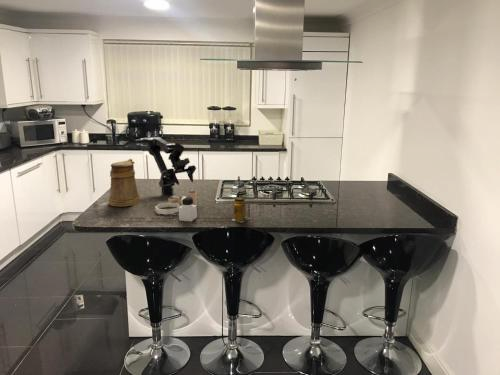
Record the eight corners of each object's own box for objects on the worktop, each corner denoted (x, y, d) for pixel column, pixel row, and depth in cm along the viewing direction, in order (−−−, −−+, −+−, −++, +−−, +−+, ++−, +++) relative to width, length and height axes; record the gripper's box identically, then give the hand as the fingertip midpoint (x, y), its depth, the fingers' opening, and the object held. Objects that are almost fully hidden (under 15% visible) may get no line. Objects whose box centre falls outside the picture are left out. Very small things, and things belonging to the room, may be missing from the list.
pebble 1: (171, 201, 258) (171, 196, 257) (173, 199, 261) (173, 195, 260) (176, 201, 258) (175, 196, 257) (178, 200, 260) (177, 195, 260)
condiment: (230, 220, 228) (230, 198, 224) (241, 216, 234) (241, 195, 231) (241, 223, 223) (240, 201, 220) (251, 218, 229) (251, 197, 226)
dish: (152, 214, 238) (151, 208, 237) (162, 206, 250) (162, 202, 249) (174, 215, 235) (174, 210, 234) (183, 208, 247) (183, 203, 246)
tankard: (103, 207, 250) (99, 165, 243) (120, 196, 272) (117, 157, 266) (133, 208, 248) (129, 166, 241) (147, 197, 270) (145, 158, 264)
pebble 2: (174, 202, 256) (174, 197, 255) (176, 201, 258) (176, 196, 258) (179, 202, 255) (179, 198, 254) (181, 201, 258) (181, 196, 257)
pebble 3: (180, 201, 258) (180, 196, 257) (182, 199, 261) (182, 195, 260) (184, 201, 257) (184, 196, 256) (186, 200, 260) (186, 195, 259)
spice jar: (188, 209, 245) (187, 191, 243) (191, 207, 250) (190, 189, 247) (195, 209, 244) (194, 191, 242) (198, 207, 249) (197, 189, 246)
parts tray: (167, 203, 256) (167, 199, 255) (173, 200, 263) (173, 195, 263) (183, 204, 254) (183, 200, 253) (188, 201, 261) (188, 196, 260)
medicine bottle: (196, 217, 231) (196, 196, 228) (191, 221, 225) (190, 200, 222) (185, 216, 234) (184, 195, 231) (178, 220, 227) (177, 198, 224)
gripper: (165, 155, 244) (175, 178, 239) (194, 152, 255) (204, 173, 250) (160, 166, 253) (169, 188, 247) (188, 162, 264) (197, 183, 258)
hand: (185, 183), depth 251 cm, fingers open, 9 cm apart
